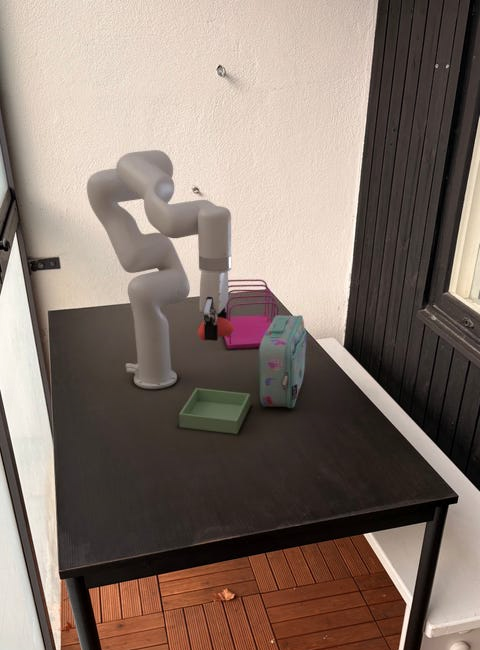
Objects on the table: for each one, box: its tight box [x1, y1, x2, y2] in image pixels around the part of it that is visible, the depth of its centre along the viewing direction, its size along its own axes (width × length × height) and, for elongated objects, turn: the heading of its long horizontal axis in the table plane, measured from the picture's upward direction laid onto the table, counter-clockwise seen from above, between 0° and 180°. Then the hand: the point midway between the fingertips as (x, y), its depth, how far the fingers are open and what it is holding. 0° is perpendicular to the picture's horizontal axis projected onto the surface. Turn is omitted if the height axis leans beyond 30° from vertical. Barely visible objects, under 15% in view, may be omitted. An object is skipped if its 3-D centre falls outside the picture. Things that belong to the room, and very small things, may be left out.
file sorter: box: [223, 278, 280, 350], centre depth 217 cm, size 17×25×16 cm
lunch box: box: [258, 314, 307, 409], centre depth 177 cm, size 27×10×21 cm, turn 168°
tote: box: [178, 387, 251, 435], centre depth 170 cm, size 15×15×4 cm
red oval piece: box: [197, 316, 234, 341], centre depth 159 cm, size 5×9×6 cm, turn 110°
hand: (215, 332), depth 159 cm, fingers closed on red oval piece, 7 cm apart
